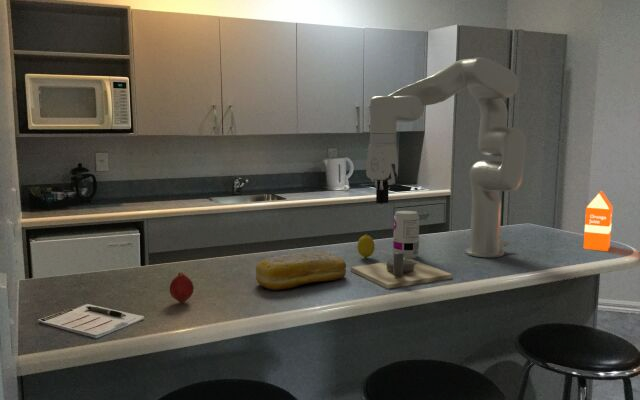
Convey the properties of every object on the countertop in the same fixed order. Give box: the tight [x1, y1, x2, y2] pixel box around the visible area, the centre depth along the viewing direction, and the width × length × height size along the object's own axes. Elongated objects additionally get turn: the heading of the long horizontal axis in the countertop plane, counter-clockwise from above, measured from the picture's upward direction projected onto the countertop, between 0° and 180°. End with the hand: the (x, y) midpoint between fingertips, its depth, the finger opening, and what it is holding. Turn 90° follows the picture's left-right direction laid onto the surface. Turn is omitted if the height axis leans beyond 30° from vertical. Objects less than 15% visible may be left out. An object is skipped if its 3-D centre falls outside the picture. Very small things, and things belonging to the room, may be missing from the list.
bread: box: [255, 251, 347, 291], centre depth 156 cm, size 13×26×8 cm, turn 125°
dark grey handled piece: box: [386, 252, 414, 277], centre depth 164 cm, size 19×8×6 cm, turn 167°
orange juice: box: [583, 190, 614, 252], centre depth 196 cm, size 8×9×20 cm
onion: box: [169, 271, 195, 304], centre depth 138 cm, size 6×6×8 cm
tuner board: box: [350, 259, 453, 290], centre depth 163 cm, size 22×20×1 cm
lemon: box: [357, 234, 375, 259], centre depth 182 cm, size 6×6×8 cm
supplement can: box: [392, 210, 420, 260], centre depth 184 cm, size 8×8×15 cm
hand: (382, 202), depth 162 cm, fingers closed
